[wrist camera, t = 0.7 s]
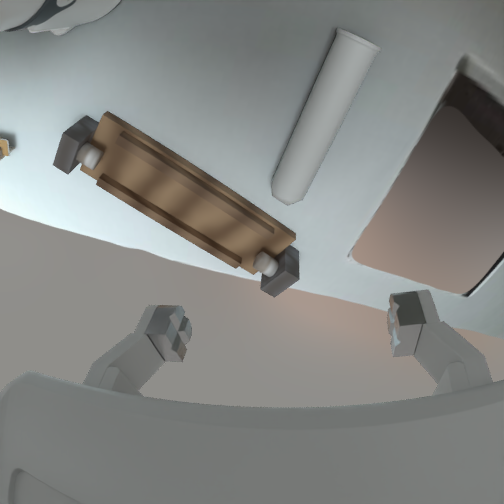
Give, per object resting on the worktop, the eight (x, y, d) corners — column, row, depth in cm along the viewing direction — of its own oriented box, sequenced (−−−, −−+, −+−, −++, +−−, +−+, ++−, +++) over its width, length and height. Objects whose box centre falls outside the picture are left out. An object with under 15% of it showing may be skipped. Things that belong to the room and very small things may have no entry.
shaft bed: (70, 156, 44) (49, 177, 39) (92, 102, 38) (68, 118, 33) (267, 276, 59) (265, 304, 54) (308, 242, 53) (310, 271, 48)
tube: (304, 214, 44) (389, 52, 27) (270, 209, 42) (352, 33, 25) (293, 190, 48) (365, 41, 31) (260, 186, 46) (330, 24, 29)
